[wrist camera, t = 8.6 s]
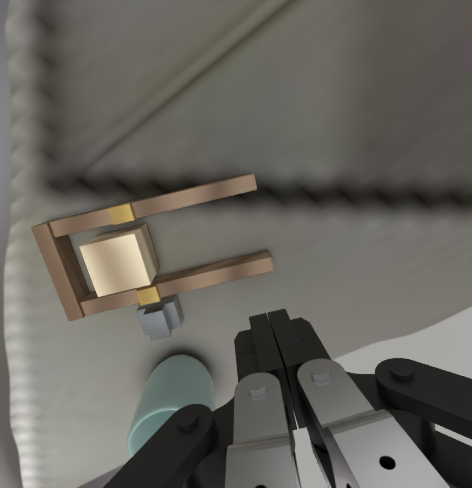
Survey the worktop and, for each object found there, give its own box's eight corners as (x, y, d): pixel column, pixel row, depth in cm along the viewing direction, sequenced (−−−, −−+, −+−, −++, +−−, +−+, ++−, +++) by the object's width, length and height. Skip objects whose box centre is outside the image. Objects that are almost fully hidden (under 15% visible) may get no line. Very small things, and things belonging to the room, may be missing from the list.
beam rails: (250, 172, 33) (254, 173, 29) (270, 263, 35) (275, 273, 32) (47, 221, 32) (28, 227, 29) (81, 308, 35) (67, 323, 32)
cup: (184, 411, 39) (174, 493, 30) (135, 375, 38) (108, 449, 28) (228, 370, 38) (232, 441, 29) (179, 331, 37) (167, 392, 27)
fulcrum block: (175, 294, 35) (171, 308, 32) (183, 318, 36) (179, 333, 33) (141, 302, 35) (133, 317, 32) (148, 326, 36) (142, 342, 33)
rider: (146, 223, 33) (134, 233, 28) (159, 267, 34) (150, 284, 29) (99, 234, 33) (79, 246, 28) (114, 278, 34) (98, 297, 29)
